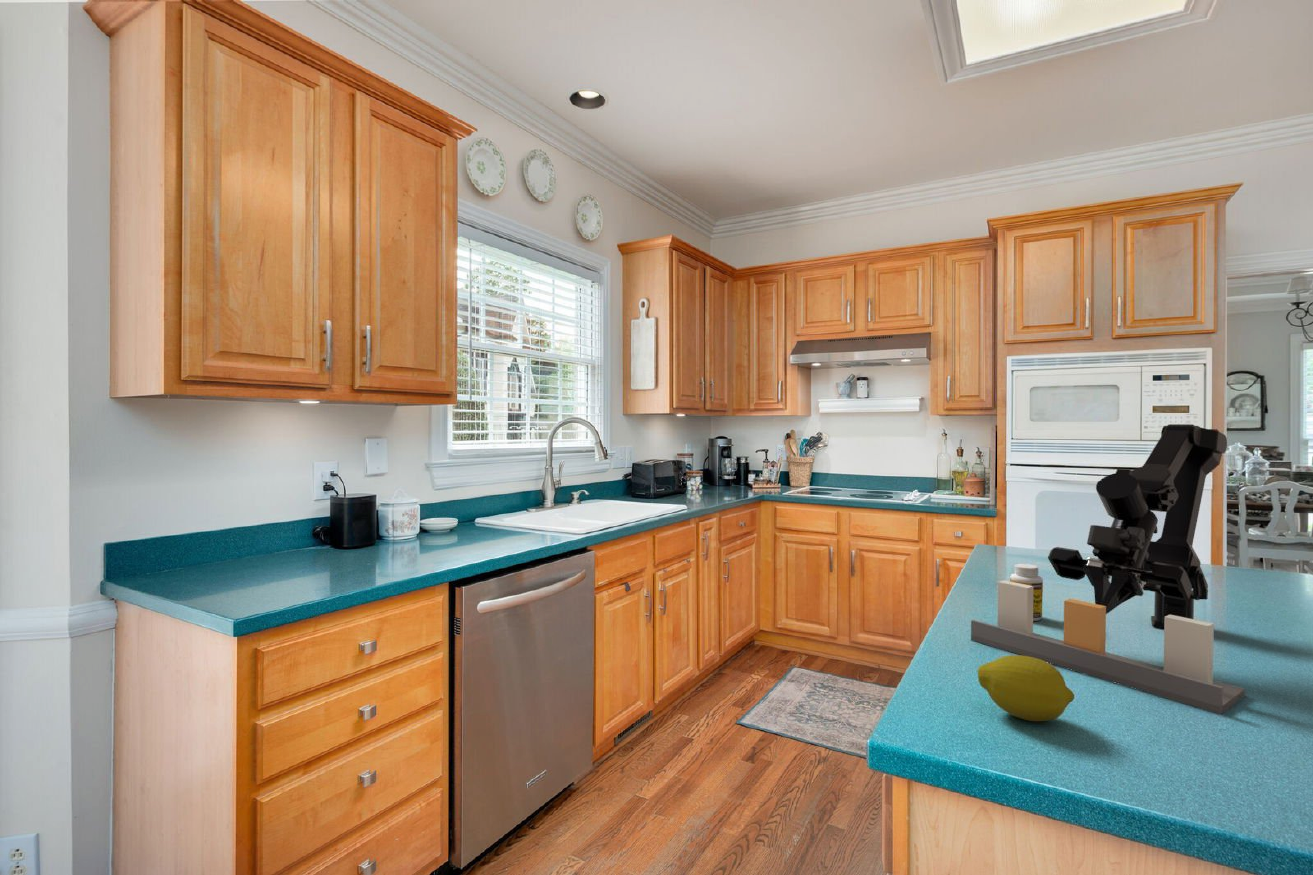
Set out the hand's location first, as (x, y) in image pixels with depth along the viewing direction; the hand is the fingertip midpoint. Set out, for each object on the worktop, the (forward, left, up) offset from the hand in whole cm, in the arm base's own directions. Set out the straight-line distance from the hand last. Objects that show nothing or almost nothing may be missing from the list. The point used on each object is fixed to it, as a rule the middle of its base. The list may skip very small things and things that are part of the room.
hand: (1099, 614), depth 101 cm
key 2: (+6, +11, -6) cm, 14 cm away
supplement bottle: (-20, -12, -8) cm, 24 cm away
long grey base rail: (+2, -1, -8) cm, 8 cm away
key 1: (-2, -12, -6) cm, 14 cm away
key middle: (+5, -2, -6) cm, 8 cm away
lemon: (+28, -7, -8) cm, 30 cm away
